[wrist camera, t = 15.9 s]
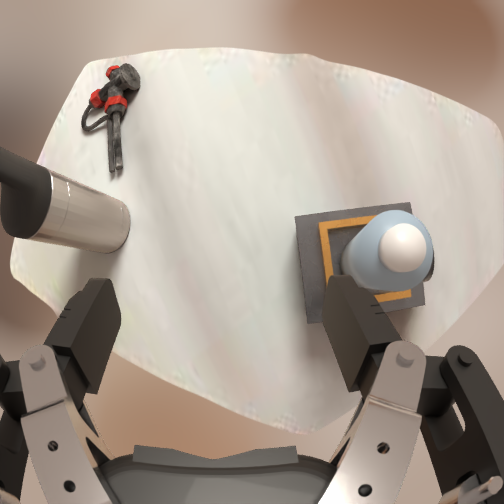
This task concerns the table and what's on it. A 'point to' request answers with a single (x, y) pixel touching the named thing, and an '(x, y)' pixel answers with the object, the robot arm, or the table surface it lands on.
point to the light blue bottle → (389, 253)
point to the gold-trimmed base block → (329, 251)
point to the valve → (113, 107)
